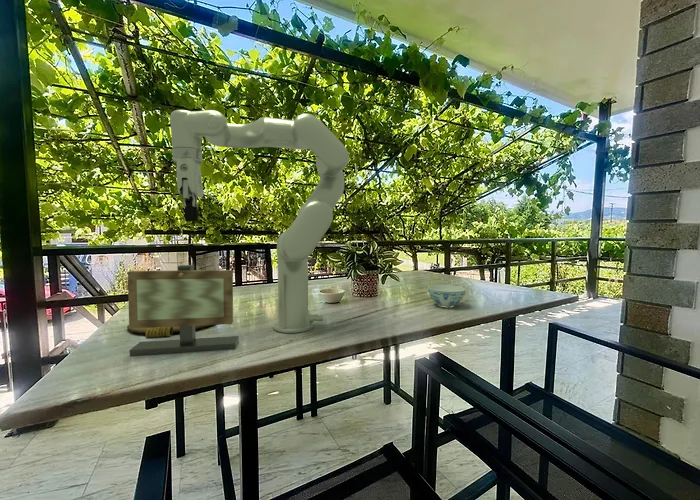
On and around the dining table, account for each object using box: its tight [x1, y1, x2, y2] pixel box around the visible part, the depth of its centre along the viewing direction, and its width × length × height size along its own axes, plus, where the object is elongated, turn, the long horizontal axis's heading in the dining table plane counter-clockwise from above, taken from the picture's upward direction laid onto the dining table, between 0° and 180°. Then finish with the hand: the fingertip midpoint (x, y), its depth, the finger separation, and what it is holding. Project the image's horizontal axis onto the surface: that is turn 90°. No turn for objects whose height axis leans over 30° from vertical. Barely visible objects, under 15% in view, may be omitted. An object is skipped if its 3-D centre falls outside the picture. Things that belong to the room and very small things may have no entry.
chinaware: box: [427, 284, 467, 307], centre depth 131 cm, size 15×15×8 cm
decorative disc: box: [127, 324, 210, 339], centre depth 106 cm, size 29×3×30 cm
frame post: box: [128, 264, 240, 357], centre depth 83 cm, size 25×6×22 cm, turn 102°
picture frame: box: [127, 269, 234, 328], centre depth 80 cm, size 24×2×14 cm, turn 101°
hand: (191, 221), depth 92 cm, fingers closed
